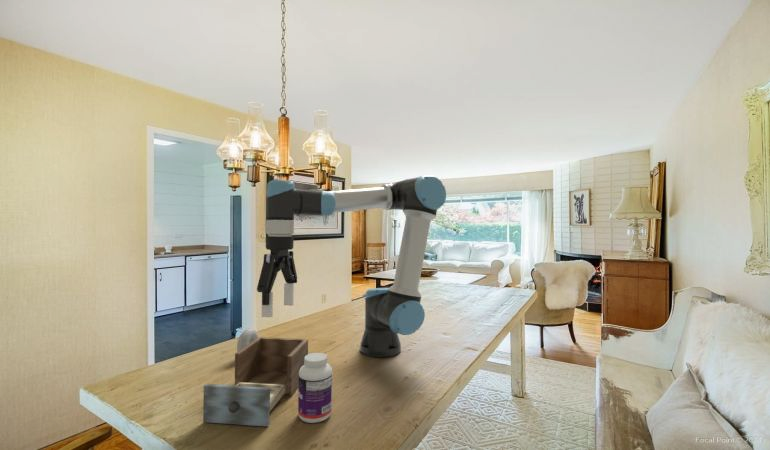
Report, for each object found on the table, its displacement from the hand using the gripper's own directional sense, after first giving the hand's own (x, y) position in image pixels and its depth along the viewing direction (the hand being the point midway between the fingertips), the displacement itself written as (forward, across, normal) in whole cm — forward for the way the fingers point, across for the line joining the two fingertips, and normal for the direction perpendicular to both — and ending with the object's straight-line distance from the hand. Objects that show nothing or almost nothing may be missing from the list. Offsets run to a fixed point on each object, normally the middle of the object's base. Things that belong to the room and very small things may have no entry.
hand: (278, 310), depth 98 cm
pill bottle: (+22, +11, +15) cm, 29 cm away
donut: (+22, -20, -20) cm, 36 cm away
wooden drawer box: (+22, -3, -2) cm, 22 cm away
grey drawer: (+22, +12, -2) cm, 25 cm away
